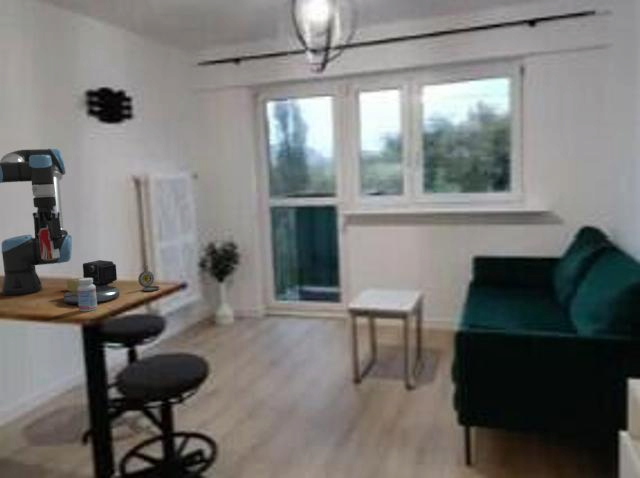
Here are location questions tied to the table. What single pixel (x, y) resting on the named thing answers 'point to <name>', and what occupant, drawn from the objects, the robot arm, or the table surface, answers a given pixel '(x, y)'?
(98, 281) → the camera
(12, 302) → the table surface
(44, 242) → the beverage can
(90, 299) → the pill bottle
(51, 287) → the table surface
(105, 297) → the turntable
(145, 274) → the pocket watch
